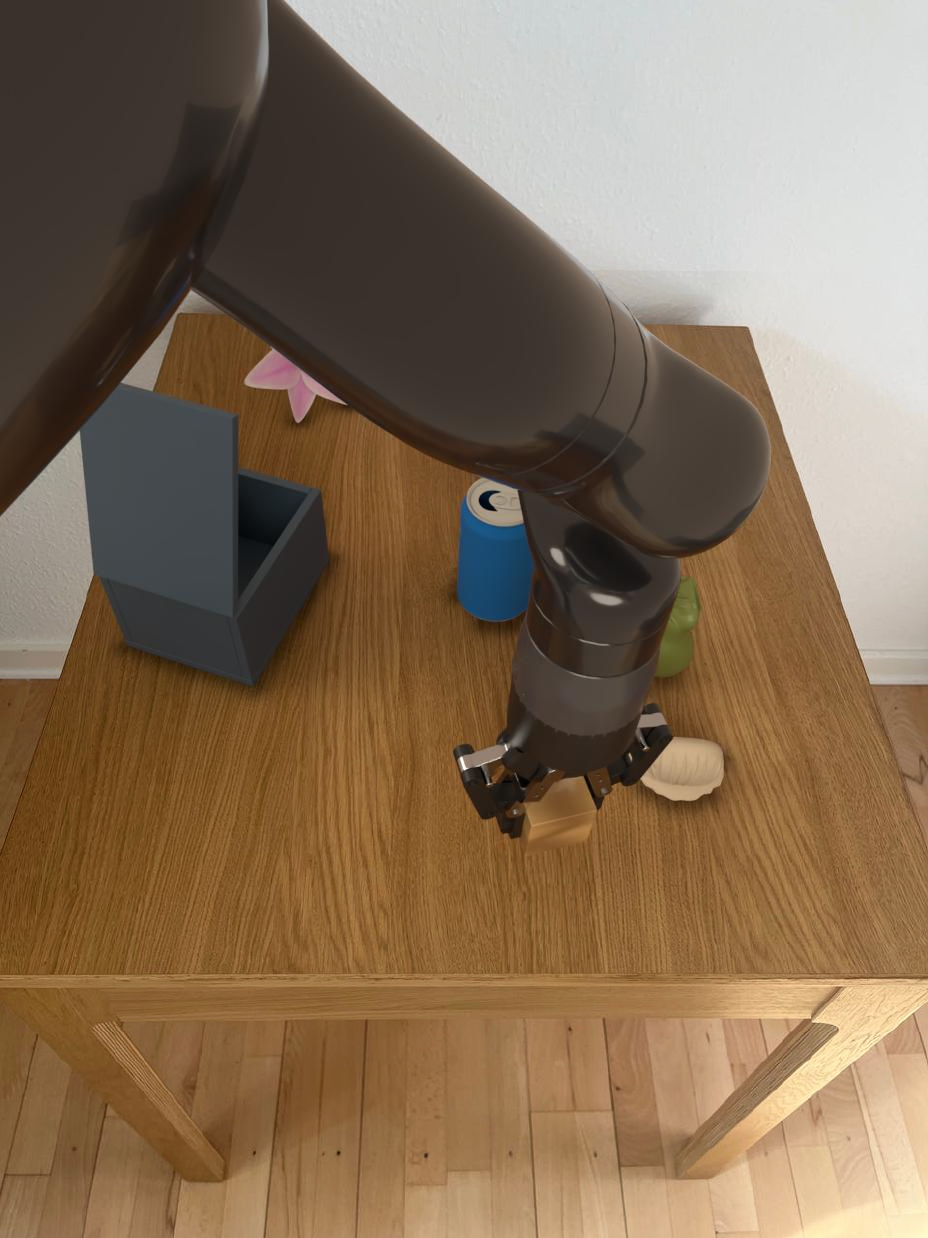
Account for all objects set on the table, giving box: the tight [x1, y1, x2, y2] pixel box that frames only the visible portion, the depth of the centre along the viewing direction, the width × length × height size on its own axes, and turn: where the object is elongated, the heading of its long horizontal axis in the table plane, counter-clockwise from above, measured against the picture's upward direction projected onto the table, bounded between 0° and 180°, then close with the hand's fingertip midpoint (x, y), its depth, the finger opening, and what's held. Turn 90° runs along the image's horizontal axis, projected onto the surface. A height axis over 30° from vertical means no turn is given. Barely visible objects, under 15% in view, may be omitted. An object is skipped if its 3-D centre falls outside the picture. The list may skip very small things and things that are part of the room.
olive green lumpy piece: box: [654, 575, 702, 679], centre depth 74 cm, size 6×5×10 cm
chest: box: [98, 466, 330, 688], centre depth 77 cm, size 15×12×9 cm
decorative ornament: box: [629, 736, 725, 802], centre depth 70 cm, size 4×8×5 cm, turn 84°
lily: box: [243, 346, 348, 424], centre depth 96 cm, size 12×12×10 cm
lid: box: [79, 382, 240, 617], centre depth 65 cm, size 15×12×1 cm
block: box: [518, 776, 598, 857], centre depth 63 cm, size 4×4×4 cm
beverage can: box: [456, 477, 534, 622], centre depth 77 cm, size 6×6×12 cm
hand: (546, 817), depth 65 cm, fingers closed on block, 4 cm apart
